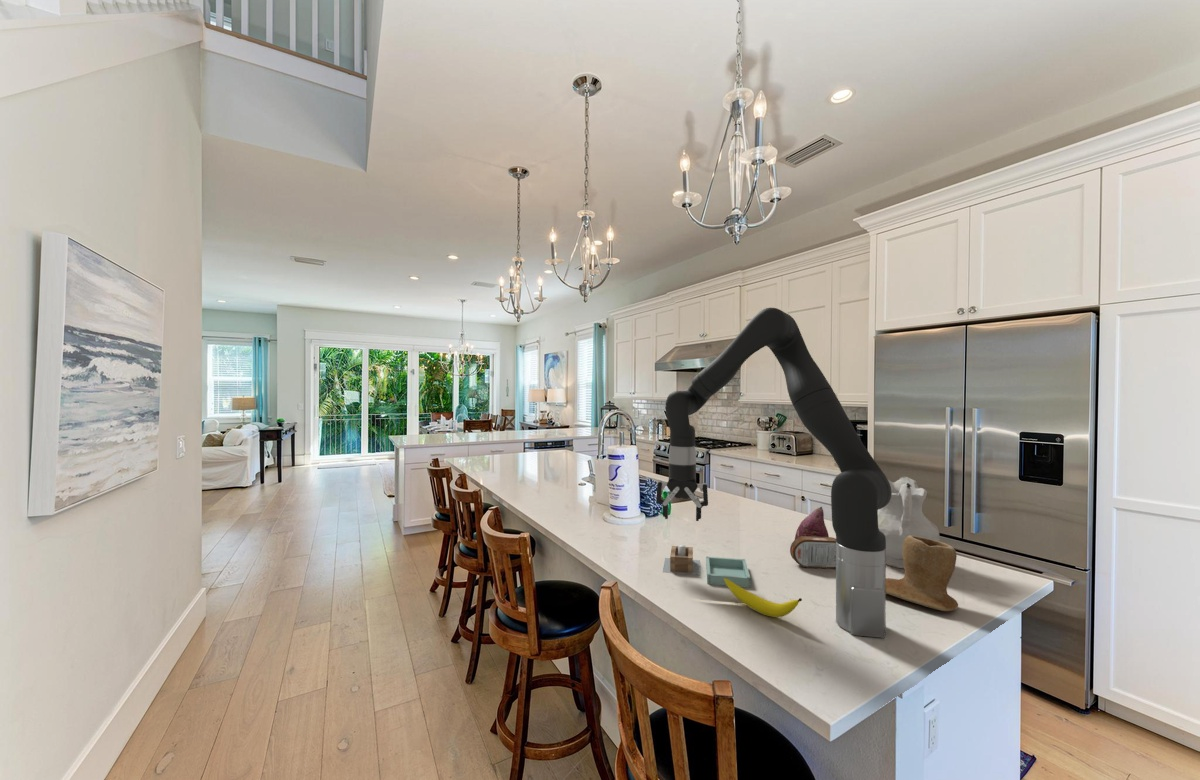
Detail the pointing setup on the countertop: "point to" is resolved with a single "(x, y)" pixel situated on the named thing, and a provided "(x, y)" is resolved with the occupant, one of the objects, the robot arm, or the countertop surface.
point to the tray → (727, 571)
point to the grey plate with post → (682, 553)
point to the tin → (814, 552)
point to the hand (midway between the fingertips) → (681, 519)
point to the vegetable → (813, 525)
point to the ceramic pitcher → (904, 519)
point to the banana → (761, 602)
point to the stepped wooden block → (681, 560)
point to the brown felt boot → (925, 574)
